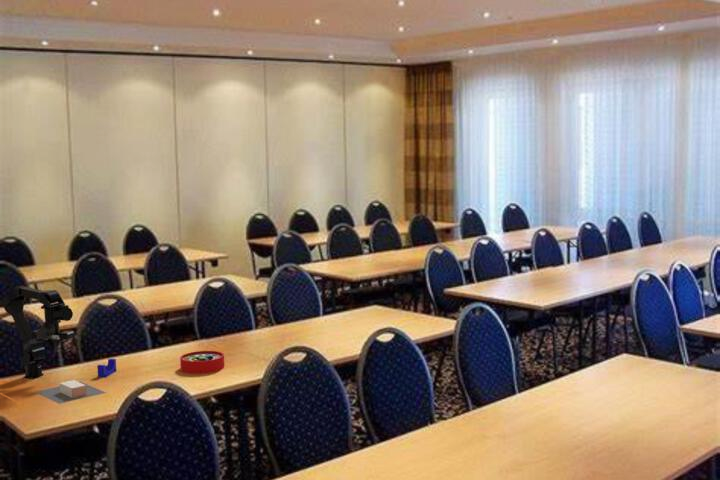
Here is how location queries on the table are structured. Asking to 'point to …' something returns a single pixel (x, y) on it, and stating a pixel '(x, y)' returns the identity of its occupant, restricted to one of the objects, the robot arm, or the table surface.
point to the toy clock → (202, 362)
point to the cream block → (73, 389)
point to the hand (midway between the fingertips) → (54, 353)
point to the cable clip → (107, 368)
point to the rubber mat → (62, 398)
